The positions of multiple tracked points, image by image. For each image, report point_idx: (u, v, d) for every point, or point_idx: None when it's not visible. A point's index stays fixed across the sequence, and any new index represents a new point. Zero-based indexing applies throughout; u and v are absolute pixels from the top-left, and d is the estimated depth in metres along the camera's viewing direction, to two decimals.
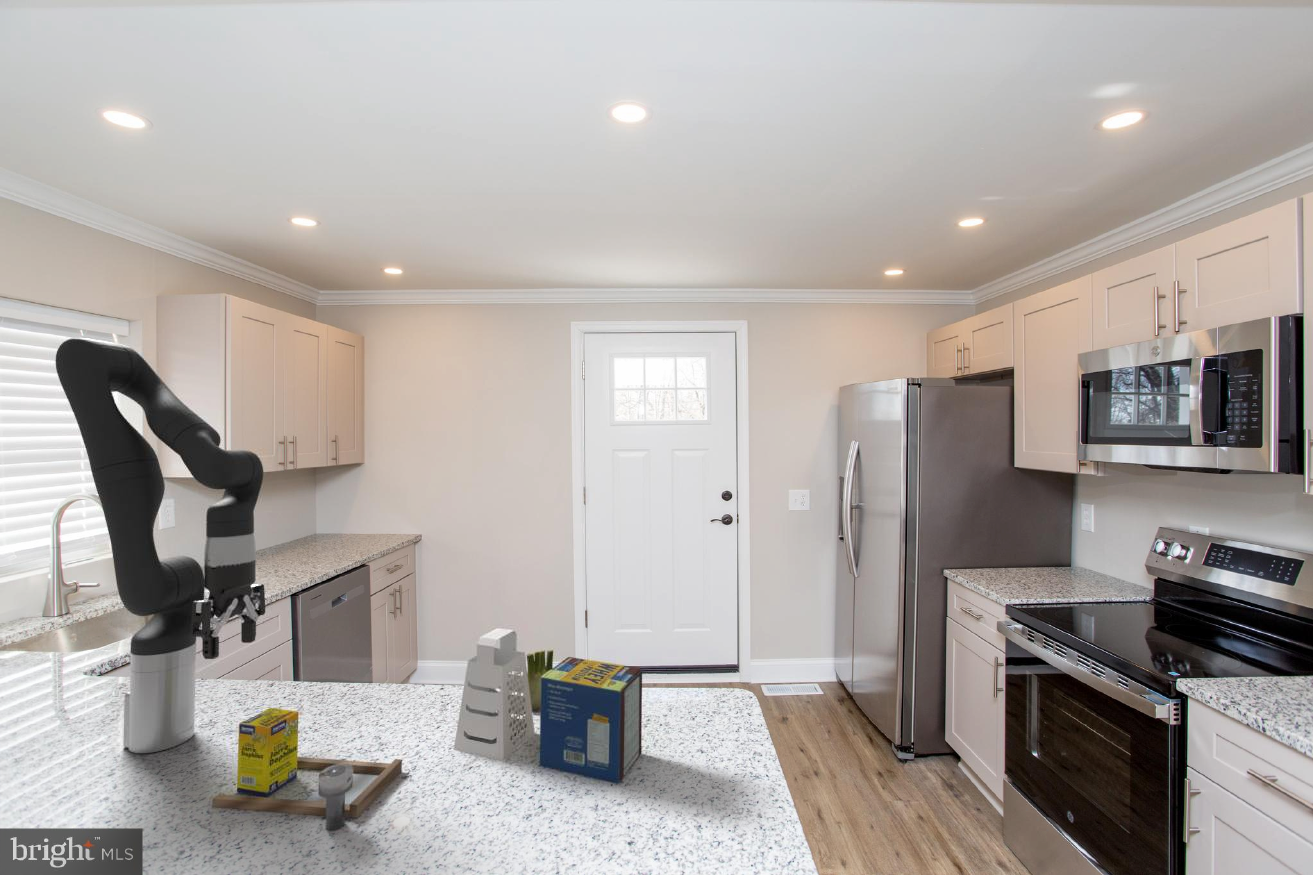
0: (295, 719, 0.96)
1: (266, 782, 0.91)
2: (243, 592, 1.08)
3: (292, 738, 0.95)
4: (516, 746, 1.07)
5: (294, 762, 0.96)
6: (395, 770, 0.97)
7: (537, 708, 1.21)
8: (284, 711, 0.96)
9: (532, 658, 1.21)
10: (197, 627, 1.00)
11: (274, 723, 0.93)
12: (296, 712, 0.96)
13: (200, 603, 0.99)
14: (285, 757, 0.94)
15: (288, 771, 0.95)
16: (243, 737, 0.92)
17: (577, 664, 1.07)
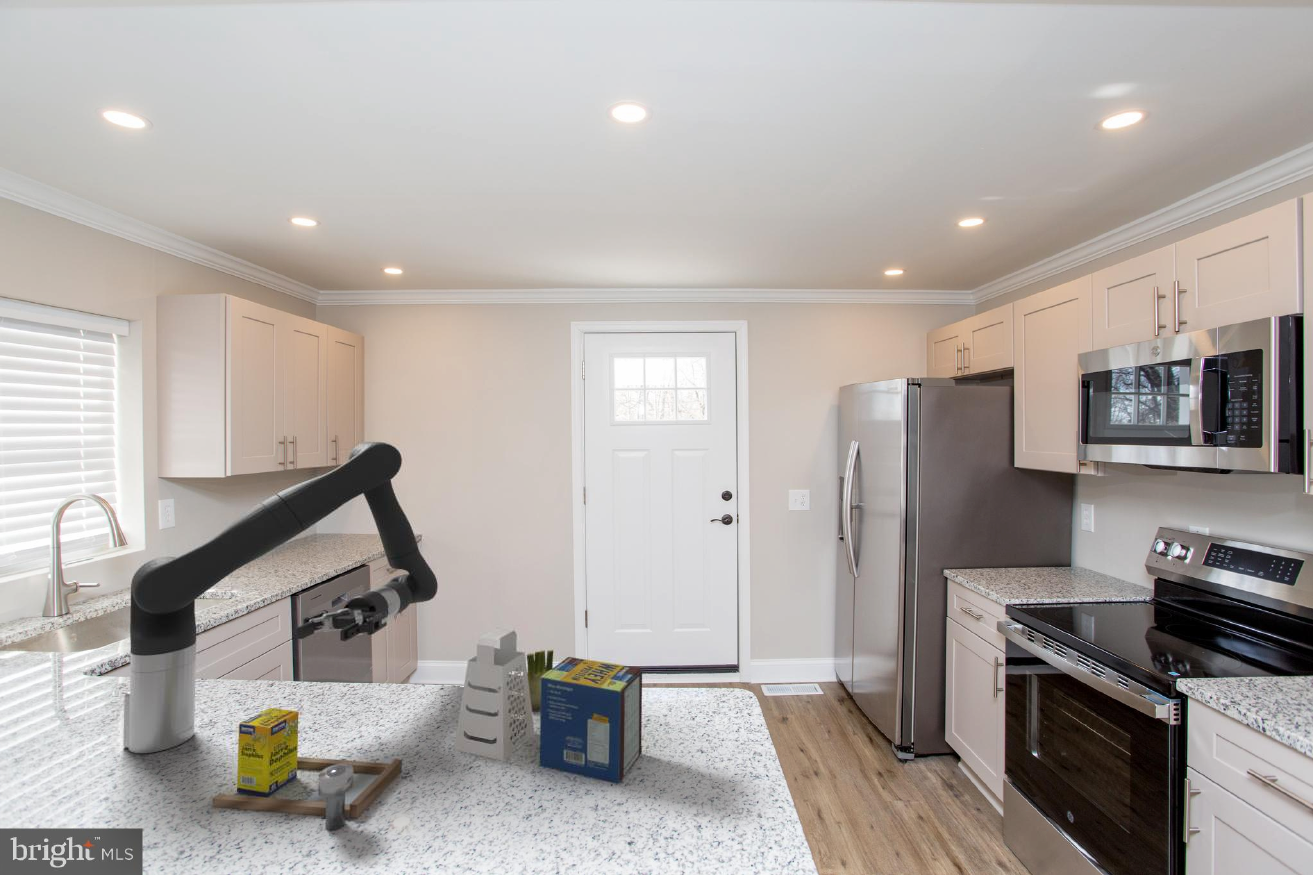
0: (295, 719, 0.96)
1: (266, 782, 0.91)
2: None
3: (292, 737, 0.95)
4: (516, 746, 1.07)
5: (294, 762, 0.96)
6: (395, 770, 0.97)
7: (537, 708, 1.21)
8: (284, 711, 0.96)
9: (532, 658, 1.21)
10: None
11: (274, 723, 0.93)
12: (296, 712, 0.96)
13: (386, 620, 1.16)
14: (285, 757, 0.94)
15: (288, 771, 0.95)
16: (243, 737, 0.92)
17: (577, 664, 1.07)
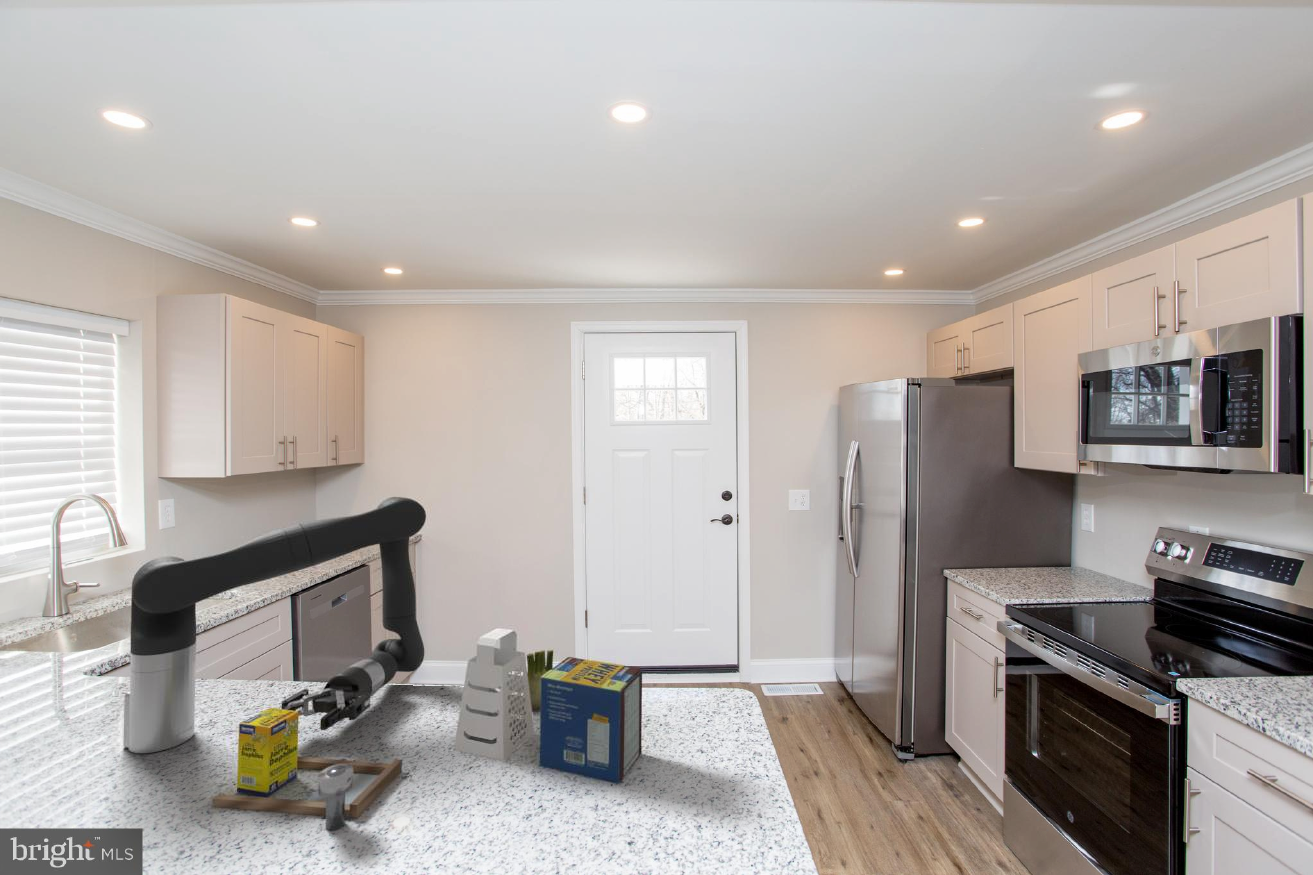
0: (295, 719, 0.96)
1: (266, 782, 0.91)
2: None
3: (292, 737, 0.95)
4: (516, 746, 1.07)
5: (294, 762, 0.96)
6: (395, 770, 0.97)
7: (537, 708, 1.21)
8: (284, 711, 0.96)
9: (532, 658, 1.21)
10: None
11: (274, 723, 0.93)
12: (296, 712, 0.96)
13: None
14: (285, 757, 0.94)
15: (288, 771, 0.95)
16: (243, 737, 0.92)
17: (577, 664, 1.07)
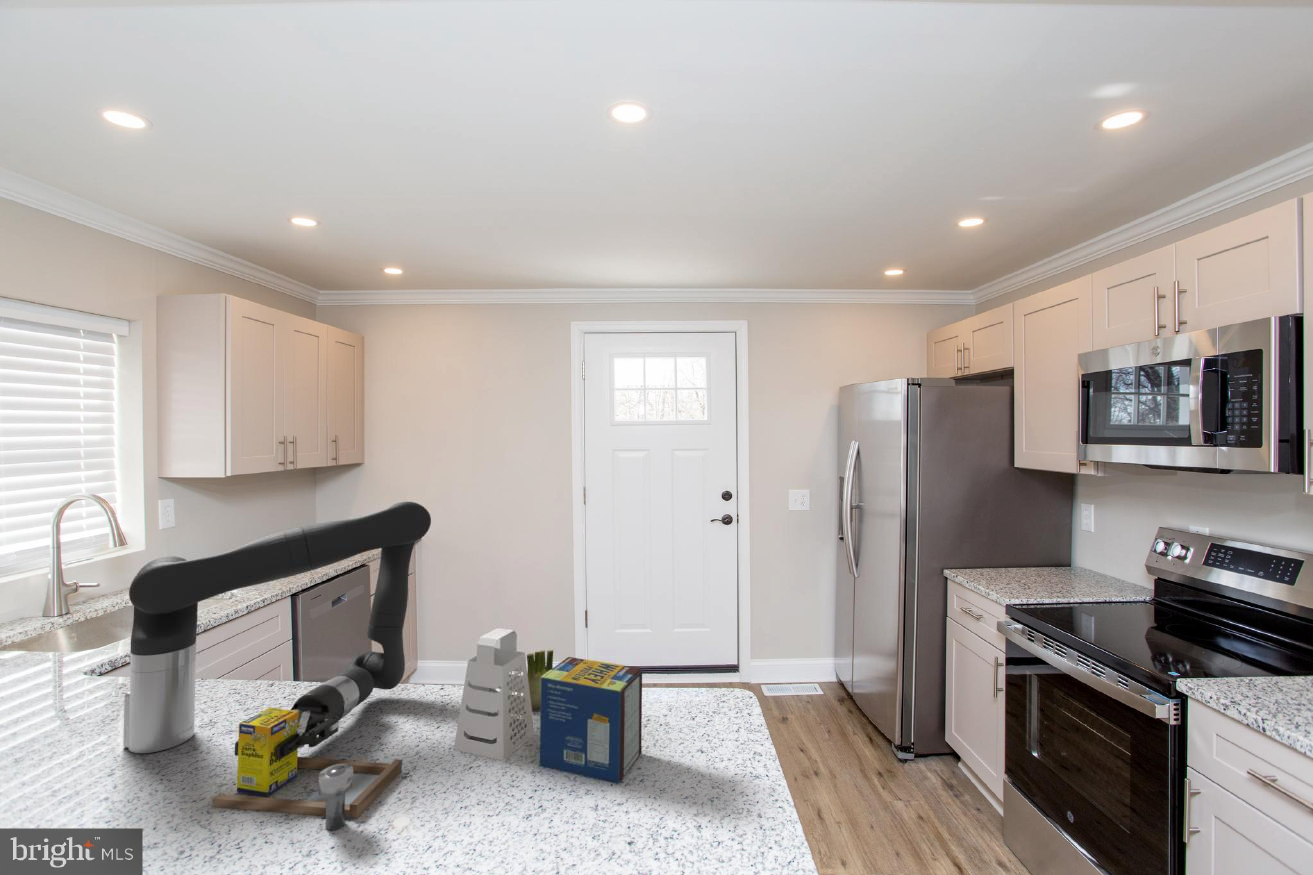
0: (295, 718, 0.96)
1: (266, 782, 0.91)
2: None
3: None
4: (516, 746, 1.07)
5: (294, 762, 0.96)
6: (395, 770, 0.97)
7: (537, 708, 1.21)
8: (284, 711, 0.96)
9: (532, 658, 1.21)
10: None
11: (274, 722, 0.93)
12: (296, 712, 0.96)
13: None
14: (285, 757, 0.94)
15: (288, 771, 0.95)
16: (243, 737, 0.92)
17: (577, 664, 1.07)
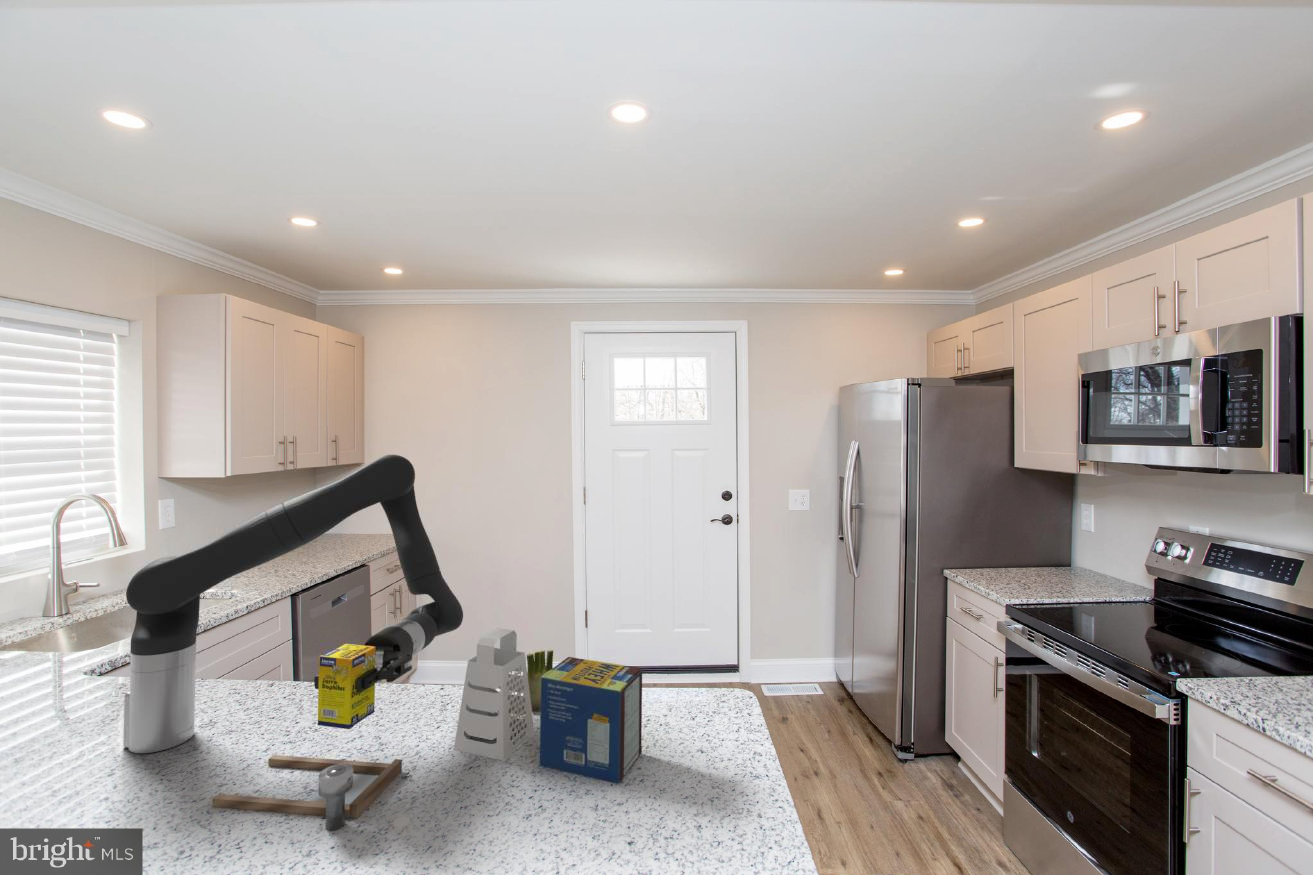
0: (373, 653, 0.95)
1: (348, 714, 0.90)
2: None
3: None
4: (516, 746, 1.07)
5: (372, 697, 0.95)
6: (395, 770, 0.97)
7: (537, 708, 1.21)
8: (361, 646, 0.95)
9: (532, 658, 1.21)
10: None
11: (355, 655, 0.92)
12: (373, 647, 0.95)
13: (411, 663, 1.00)
14: (364, 691, 0.93)
15: (367, 705, 0.94)
16: (323, 670, 0.91)
17: (577, 664, 1.07)
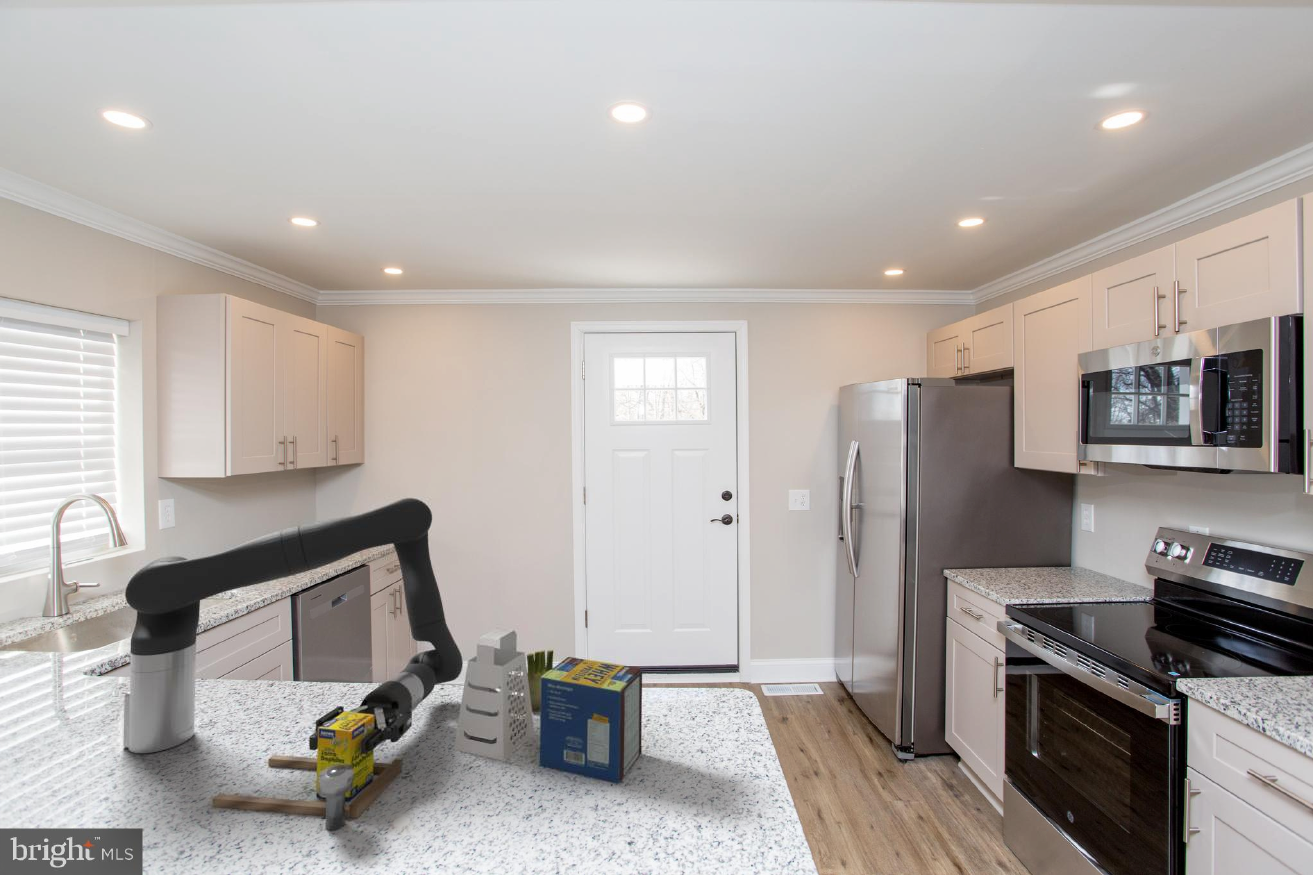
0: (372, 722, 0.95)
1: None
2: None
3: None
4: (516, 746, 1.07)
5: (371, 766, 0.95)
6: (395, 770, 0.97)
7: (537, 708, 1.21)
8: (360, 715, 0.95)
9: (532, 658, 1.21)
10: None
11: (354, 726, 0.91)
12: (372, 715, 0.95)
13: (411, 719, 1.01)
14: (363, 761, 0.93)
15: (366, 775, 0.94)
16: (323, 741, 0.91)
17: (577, 664, 1.07)
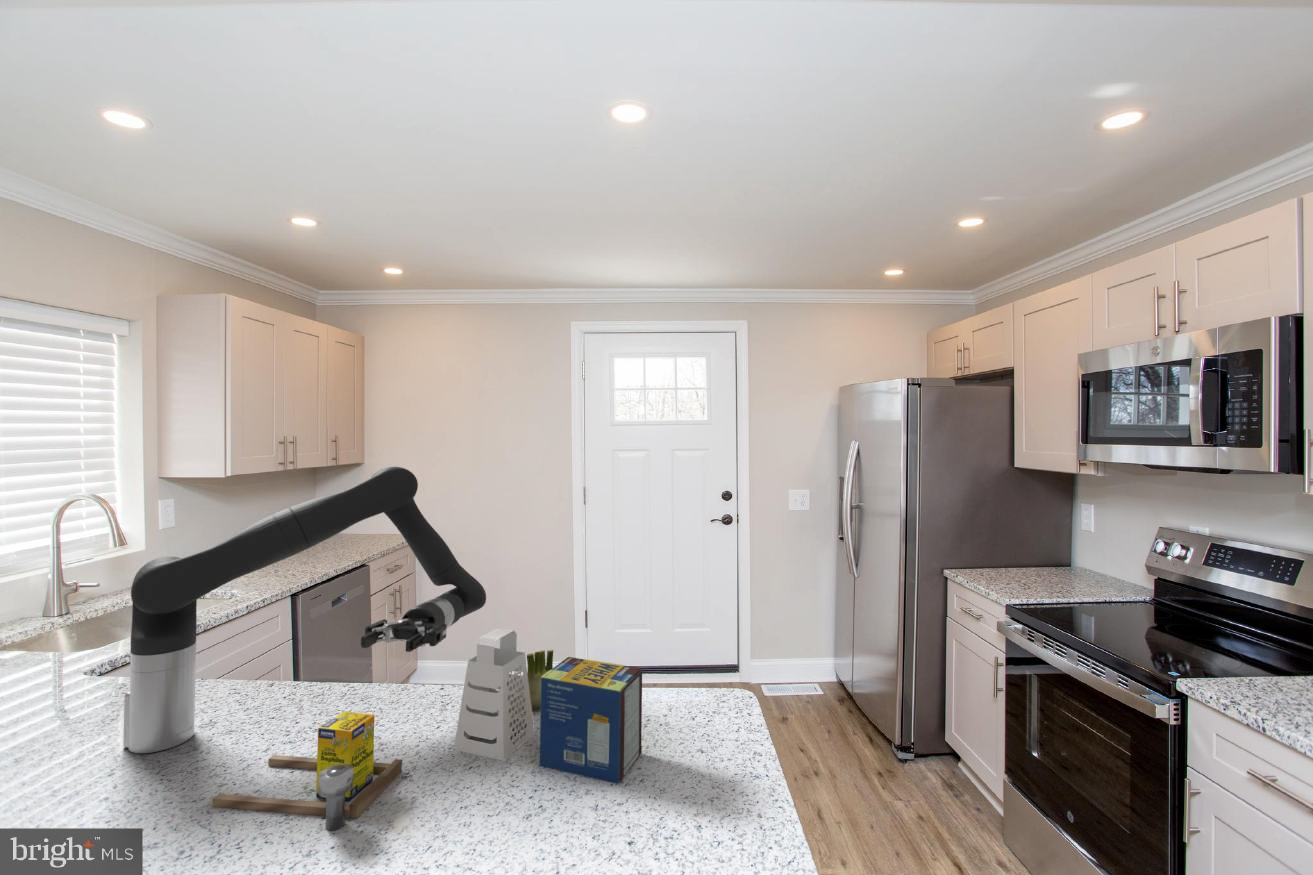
0: (372, 722, 0.95)
1: None
2: None
3: (369, 741, 0.94)
4: (516, 746, 1.07)
5: (371, 766, 0.95)
6: (395, 770, 0.97)
7: (537, 708, 1.21)
8: (360, 715, 0.95)
9: (532, 658, 1.21)
10: None
11: (354, 726, 0.91)
12: (372, 715, 0.95)
13: None
14: (363, 761, 0.93)
15: (366, 775, 0.94)
16: (323, 742, 0.91)
17: (577, 664, 1.07)
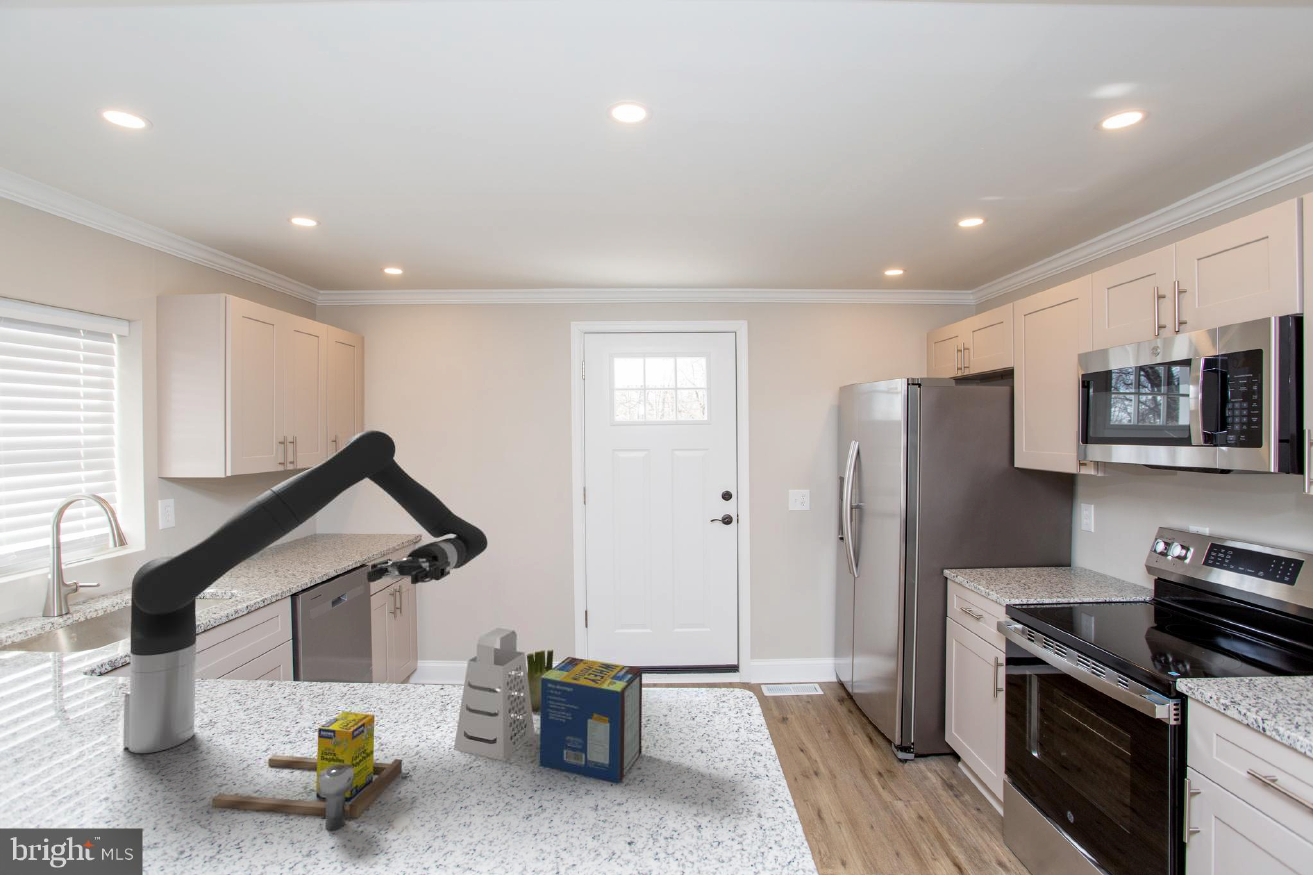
0: (372, 722, 0.95)
1: None
2: None
3: (369, 741, 0.94)
4: (516, 746, 1.07)
5: (371, 766, 0.95)
6: (395, 770, 0.97)
7: (537, 708, 1.21)
8: (360, 715, 0.95)
9: (532, 658, 1.21)
10: None
11: (354, 726, 0.91)
12: (372, 715, 0.95)
13: (450, 568, 1.19)
14: (363, 761, 0.93)
15: (366, 775, 0.94)
16: (323, 741, 0.91)
17: (577, 664, 1.07)
